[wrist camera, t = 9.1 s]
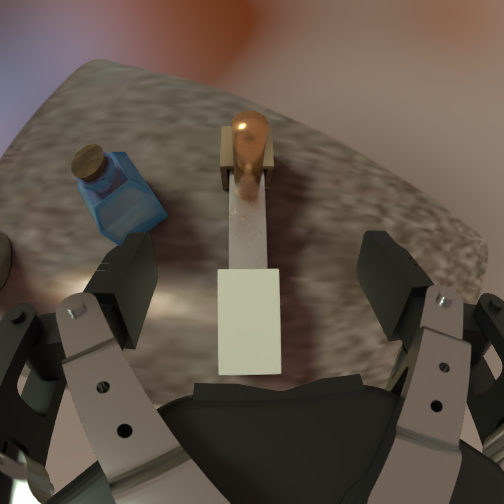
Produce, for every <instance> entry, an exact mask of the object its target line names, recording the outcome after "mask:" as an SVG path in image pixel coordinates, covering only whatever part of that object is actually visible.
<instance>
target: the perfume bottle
mask: <svg viewBox="0 0 504 504" xmlns="http://www.w3.org/2000/svg"><path fill="white" fill-rule="evenodd" d="M71 171H72V173H73V175H74V176H76V177H77V181H78V190H79V192H80V194H81V196H82V198H83V200H84V202H85V204H86V206H87V208H88V209H89V211H90V213H91V215H92V217H93V219H94V221H95V223H96V225H97V226H98V228H99V230H100V232H101V233H102V234H103V235H104V236H106V237H107V238H109V239H110V240H112V241H113V242H115V243H116V244H118V245H119V246H121V244H122V243H123V241H124V240H125V238H126V237H127V235H128V234H129V233H135V232H148V231H149V230H151V229H152V228H153V227H155V226H156V225H157V224H159V223H160V222H161V221H163V220H164V219H165V218H167V217H168V214H167V213H166V211H165V210H164V208H163V207H162V205H161V204H160V202H159V201H158V199H157V198H156V196H155V194H154V193H153V192H152V190H151V189H150V187H149V186H148V184H147V183H146V182H145V180H144V179H143V177H142V176H141V174H140V173H139V172H138V170H137V169H136V167H135V166H134V164H133V163H132V161H131V160H130V158H129V157H128V156H127V154H126V153H125V152H111V153H110V154H109V155H108V154H107V153H106V152H105V151H103V149H102V148H101V147H100V146H99V145H96V144H91V145H88V146H85V147H84V148H82V149H81V150H80V151H79V152H78V153H77V154H76V155H75V157H74V158H73V161H72V164H71Z"/></svg>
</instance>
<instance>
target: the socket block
mask: <svg viewBox="0 0 504 504" xmlns="http://www.w3.org/2000/svg"><path fill="white" fill-rule="evenodd" d="M230 169H234V166H233V143H232V126H222V132H221V154H220V170H221V178H222V185H223V189H229V181H230ZM262 169H264V181H265V189H269V188H270V184H271V179H272V174H273V169H274V157H273V141H272V127H271V126H268V131H267V138H266V146H265V153H264V161H263V168H262Z"/></svg>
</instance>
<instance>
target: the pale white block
mask: <svg viewBox="0 0 504 504" xmlns="http://www.w3.org/2000/svg"><path fill="white" fill-rule="evenodd" d="M218 358H219V375H262V374H281V329H280V290H279V269H218Z"/></svg>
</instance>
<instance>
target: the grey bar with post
mask: <svg viewBox="0 0 504 504" xmlns="http://www.w3.org/2000/svg"><path fill="white" fill-rule="evenodd" d="M267 131H268V121H267V119H266V118H265V117H264V116H263V115H262V114H260V113H258V112H255V111H244V112H241V113H239V114H237V115H236V116H235V117H234V118H233V120H232V143H233V166H234V169H230V181H229V269H267V238H266V208H265V181H264V169H262V168H263V161H264V153H265V146H266V138H267Z"/></svg>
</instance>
